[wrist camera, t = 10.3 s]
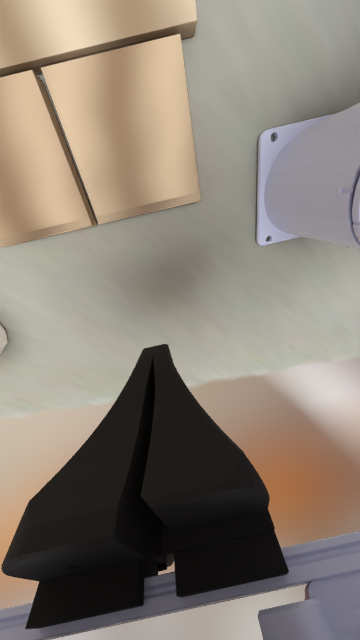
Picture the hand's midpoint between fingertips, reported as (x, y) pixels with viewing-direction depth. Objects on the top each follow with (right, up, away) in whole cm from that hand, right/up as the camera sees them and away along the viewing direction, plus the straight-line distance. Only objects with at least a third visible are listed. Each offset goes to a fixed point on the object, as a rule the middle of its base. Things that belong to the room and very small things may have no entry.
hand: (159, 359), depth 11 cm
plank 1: (-10, +12, +3) cm, 17 cm away
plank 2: (-2, +14, +3) cm, 15 cm away
